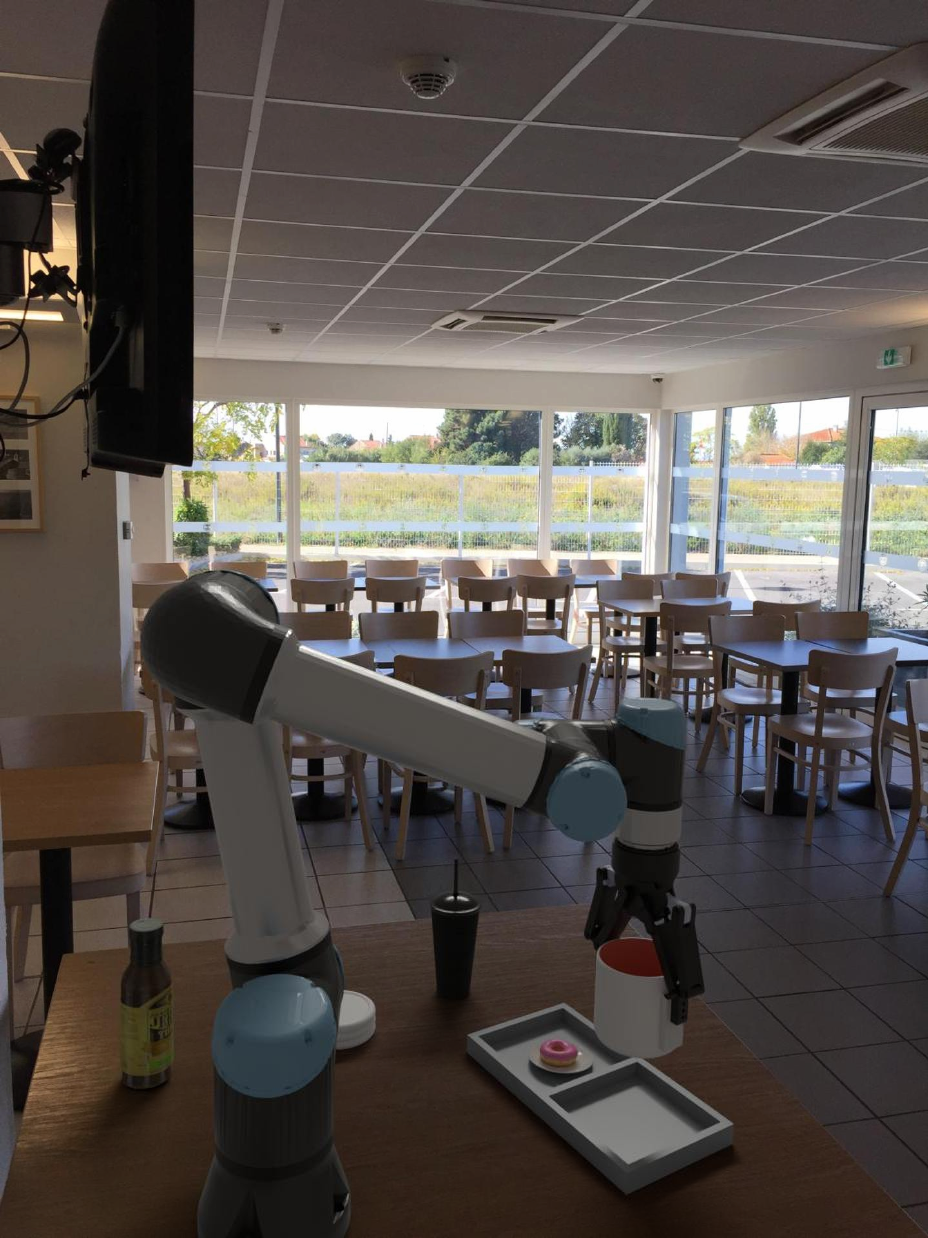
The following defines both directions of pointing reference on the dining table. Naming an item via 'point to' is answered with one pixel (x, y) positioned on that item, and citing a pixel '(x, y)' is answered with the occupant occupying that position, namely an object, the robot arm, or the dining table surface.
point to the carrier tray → (603, 1100)
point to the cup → (629, 997)
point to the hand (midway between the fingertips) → (637, 1025)
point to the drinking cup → (454, 938)
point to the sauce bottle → (146, 1009)
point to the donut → (560, 1057)
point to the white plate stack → (355, 1020)
